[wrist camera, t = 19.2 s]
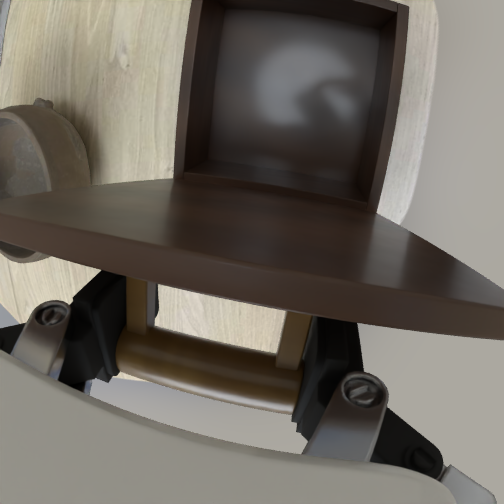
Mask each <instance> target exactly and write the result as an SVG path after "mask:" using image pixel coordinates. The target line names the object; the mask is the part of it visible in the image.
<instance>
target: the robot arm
mask: <svg viewBox="0 0 504 504" xmlns="http://www.w3.org/2000/svg"><path fill="white" fill-rule="evenodd" d="M158 311H159V300H158V284H156V290H155V318H156V316H157V314H158ZM126 324H127V313H126V276H124V275H120V274H116V273H112V272H108V271H104V270H101V271H100V272H99V273H98V274H97V275H96V276H95V277H94V278H93V279H92V280H91V281H90V282H88V283H87V284H86V285H85V286H84V287H83V288H82V289H81V290H80V291H79V292H78V293H77V294H76V295H75V296H74V297H73V302H72V303H71V304H70V305H68V304H67V303H66V302H64V301H59V300H51V301H47V302H44V303H42V304H40V305H39V306H37V307H36V308H35V309H34V310H33V312H32V313H31V315H30V317H29V319H28V321H27V323H23V324H18V325H14V326H9V327H4V328H0V504H497V502H496V499H495V497H494V495H493V494H492V493H491V492H490V491H489V490H487V489H486V488H484V487H482V486H481V485H480V484H478V483H476V482H475V481H474V480H472V479H471V478H469V477H468V476H466V475H465V474H464V473H462V472H461V471H459V470H458V469H456V468H455V467H453V466H452V465H449V466H448V467H446V466H445V465H443V458H442V455H441V453H440V451H439V449H438V448H437V447H436V446H435V445H434V444H432V443H431V442H430V441H429V440H427V439H426V438H425V437H424V436H422V435H421V434H420V433H418V432H417V431H416V430H415V429H413V428H412V427H411V426H410V425H409V424H407V423H406V422H405V421H404V420H403V419H401V418H400V417H399V416H398V415H396V414H395V413H394V412H393V411H391V410H390V409H389V408H387V403H388V398H389V394H388V390H387V387H386V386H385V384H384V383H383V382H382V381H381V380H380V379H379V378H377V377H376V376H374V375H372V374H370V373H366V372H364V368H363V360H362V353H361V345H360V338H359V332H358V325H357V323H356V322H349V321H343V320H337V319H331V318H325V317H319V316H313V319H312V323H311V327H310V331H309V335H308V339H307V342H306V346H305V350H304V353H303V357H302V359H303V360H304V373H303V380H302V385H301V390H300V395H299V399H298V402H297V405H296V408H295V410H294V412H293V414H292V422H296V423H297V430H296V432H299V433H301V434H302V436H303V437H305V438H306V439H307V441H308V443H307V445H306V447H305V448H304V450H303V452H302V454H293V453H288V452H281V451H275V450H269V449H263V448H258V447H252V446H247V445H242V444H237V443H233V442H228V441H224V440H220V439H216V438H212V437H208V436H204V435H200V434H197V433H193V432H190V431H186V430H182V429H179V428H176V427H173V426H169V425H166V424H163V423H160V422H157V421H154V420H151V419H148V418H145V417H142V416H139V415H137V414H134V413H131V412H128V411H126V410H123V409H120V408H118V407H116V406H113V405H111V404H108V403H106V402H103V401H101V400H99V399H96V398H94V397H91V396H89V395H90V390H91V386H92V379H95V378H97V379H100V380H102V381H105V382H107V383H108V382H109V381H110V379H111V378H112V376H117V375H118V374H119V372H120V370H119V369H118V368H117V365H116V360H115V353H116V346H117V342H118V338H119V336H120V333H121V331H122V329H123V328H124V326H125V325H126Z"/></svg>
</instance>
